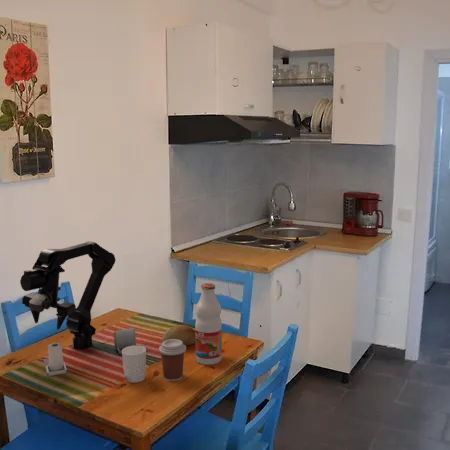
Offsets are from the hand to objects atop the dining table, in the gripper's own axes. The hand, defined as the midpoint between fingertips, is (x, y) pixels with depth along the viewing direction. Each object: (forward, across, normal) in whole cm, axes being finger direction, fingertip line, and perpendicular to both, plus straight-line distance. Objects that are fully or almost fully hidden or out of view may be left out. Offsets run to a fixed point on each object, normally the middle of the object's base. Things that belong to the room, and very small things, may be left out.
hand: (47, 326), depth 194 cm
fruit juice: (+5, +56, +17) cm, 59 cm away
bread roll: (+7, +42, +27) cm, 50 cm away
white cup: (+7, +38, -4) cm, 39 cm away
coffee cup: (+6, +50, +1) cm, 50 cm away
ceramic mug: (+10, +24, +17) cm, 31 cm away
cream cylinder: (+10, +12, -10) cm, 18 cm away
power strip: (+12, +9, -7) cm, 16 cm away
